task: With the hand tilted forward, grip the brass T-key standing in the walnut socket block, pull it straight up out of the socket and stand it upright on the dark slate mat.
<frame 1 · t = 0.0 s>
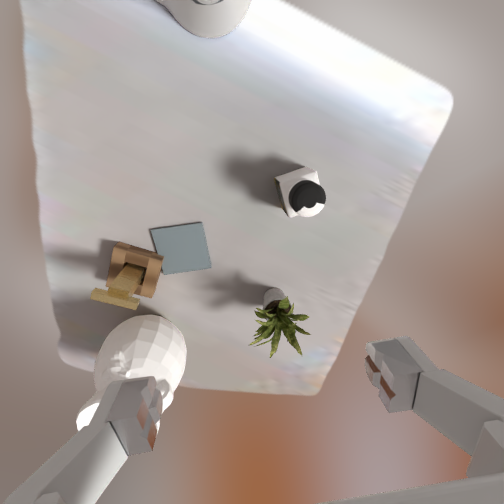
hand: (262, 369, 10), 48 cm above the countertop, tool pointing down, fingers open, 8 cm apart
white vase: (155, 329, 67), on the countertop
socket block: (137, 267, 60), on the countertop
slate mat: (182, 248, 59), on the countertop
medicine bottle: (293, 188, 56), on the countertop
house plant: (271, 292, 66), on the countertop
t key: (127, 282, 54), in the socket block
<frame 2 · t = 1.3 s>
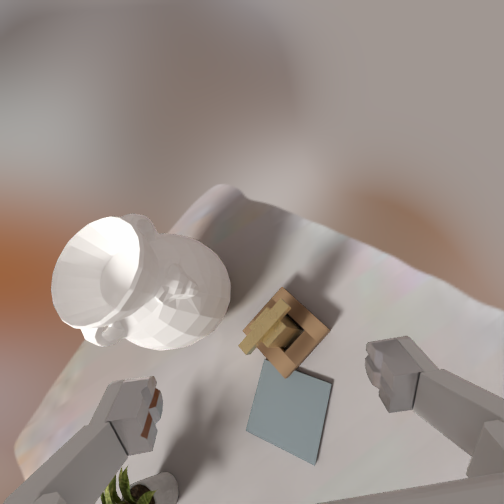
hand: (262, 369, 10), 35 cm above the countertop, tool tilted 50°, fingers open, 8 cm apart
white vase: (203, 299, 52), on the countertop
socket block: (287, 331, 45), on the countertop
slate mat: (288, 407, 41), on the countertop
house plant: (172, 492, 43), on the countertop
t key: (277, 329, 39), in the socket block
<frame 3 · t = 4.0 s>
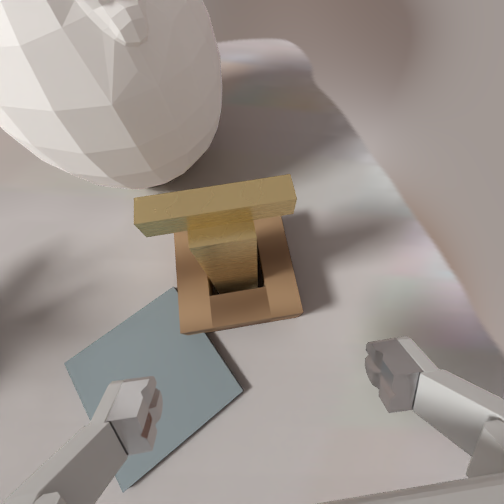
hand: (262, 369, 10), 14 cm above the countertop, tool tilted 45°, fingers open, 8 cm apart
white vase: (155, 155, 31), on the countertop
socket block: (236, 274, 26), on the countertop
slate mat: (153, 376, 23), on the countertop
t key: (229, 248, 19), in the socket block
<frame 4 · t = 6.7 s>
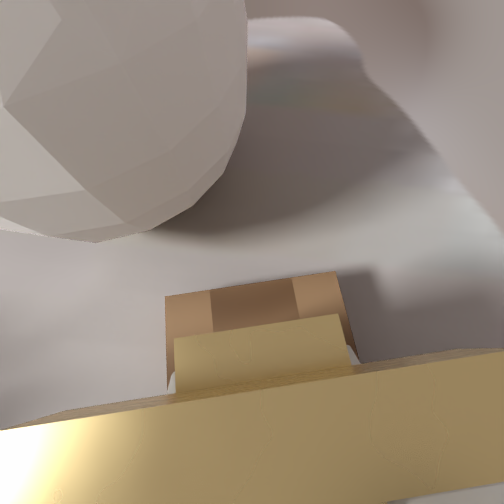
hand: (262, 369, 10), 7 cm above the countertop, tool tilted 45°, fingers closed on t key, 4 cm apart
white vase: (144, 176, 22), on the countertop
socket block: (263, 373, 16), on the countertop
t key: (265, 387, 10), in the socket block, touching gripper
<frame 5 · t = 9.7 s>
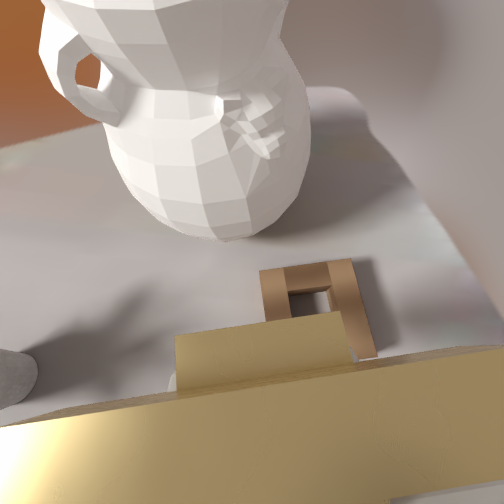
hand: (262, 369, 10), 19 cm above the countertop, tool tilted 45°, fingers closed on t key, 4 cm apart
white vase: (229, 200, 35), on the countertop
socket block: (309, 314, 29), on the countertop
house plant: (22, 387, 28), on the countertop
t key: (266, 385, 10), point 19 cm above the countertop, touching gripper
when the fingers open (9 cm above the countertop, at t = 13.0 s): t key drops 1 cm, resting on slate mat.
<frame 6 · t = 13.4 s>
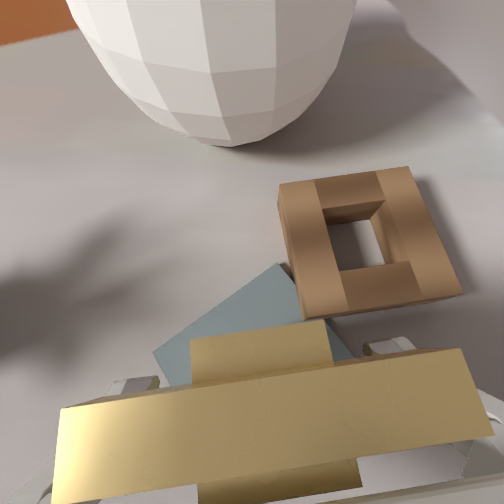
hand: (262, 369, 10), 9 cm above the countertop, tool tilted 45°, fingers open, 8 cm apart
white vase: (232, 114, 27), on the countertop
socket block: (349, 249, 21), on the countertop
slate mat: (263, 370, 18), on the countertop
t key: (264, 382, 11), on the slate mat, point 7 cm above the countertop
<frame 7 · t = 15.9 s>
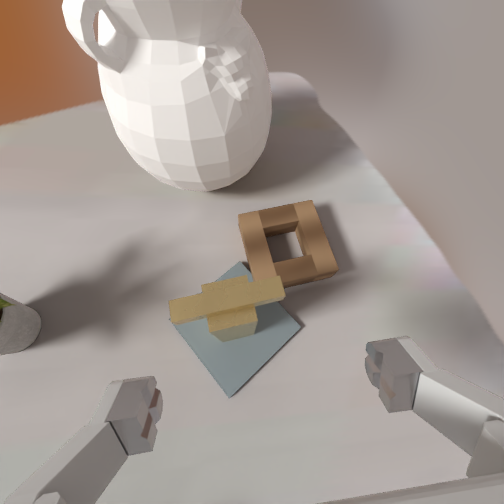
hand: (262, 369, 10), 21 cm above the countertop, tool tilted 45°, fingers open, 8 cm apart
white vase: (206, 166, 40), on the countertop
socket block: (283, 250, 35), on the countertop
slate mat: (235, 323, 31), on the countertop
house plant: (27, 336, 30), on the countertop
t key: (232, 313, 24), on the slate mat, point 7 cm above the countertop
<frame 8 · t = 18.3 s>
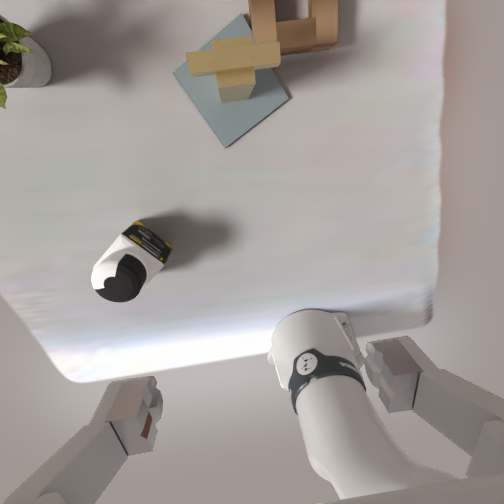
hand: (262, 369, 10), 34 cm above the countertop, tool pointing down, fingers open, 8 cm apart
socket block: (289, 5, 32), on the countertop
slate mat: (232, 87, 35), on the countertop
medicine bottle: (143, 247, 44), on the countertop
house plant: (41, 72, 33), on the countertop
t key: (233, 75, 29), on the slate mat, point 7 cm above the countertop
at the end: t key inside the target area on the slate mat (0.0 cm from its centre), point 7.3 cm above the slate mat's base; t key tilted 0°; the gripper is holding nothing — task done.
